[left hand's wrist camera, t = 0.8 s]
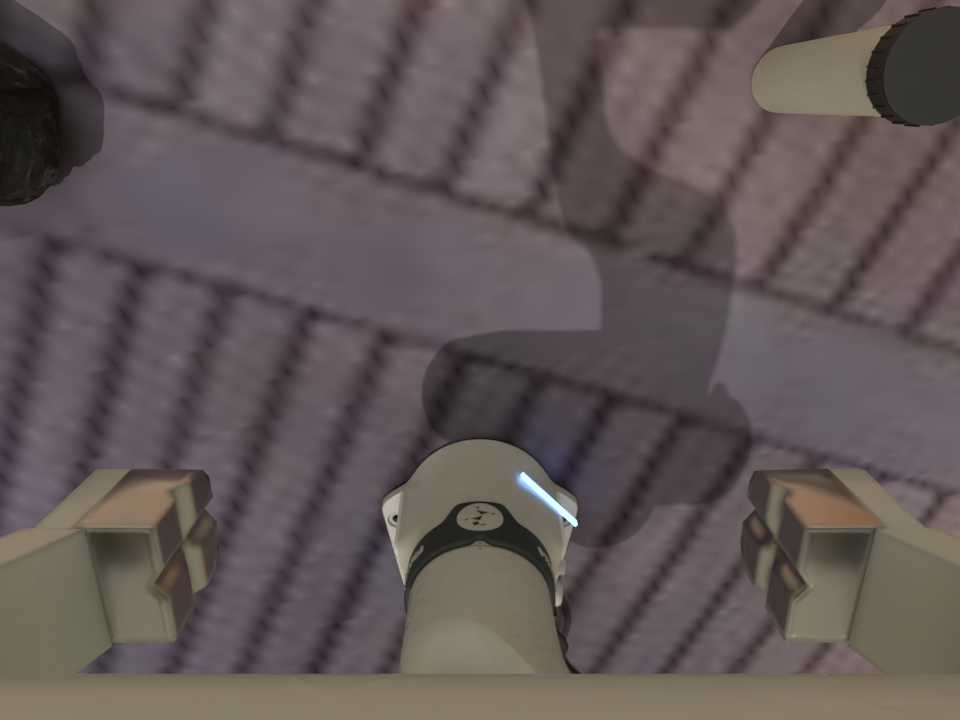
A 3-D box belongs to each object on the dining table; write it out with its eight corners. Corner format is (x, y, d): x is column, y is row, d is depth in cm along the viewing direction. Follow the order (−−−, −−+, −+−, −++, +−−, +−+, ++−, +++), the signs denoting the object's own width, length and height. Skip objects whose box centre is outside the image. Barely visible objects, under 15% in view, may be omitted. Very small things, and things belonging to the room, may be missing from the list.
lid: (856, 33, 36) (874, 30, 34) (967, -8, 35) (991, -14, 33) (872, 141, 38) (890, 142, 36) (978, 103, 37) (1002, 103, 35)
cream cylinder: (744, 59, 52) (879, 36, 34) (808, 35, 51) (978, 0, 34) (758, 122, 54) (893, 131, 36) (819, 99, 53) (986, 98, 35)
